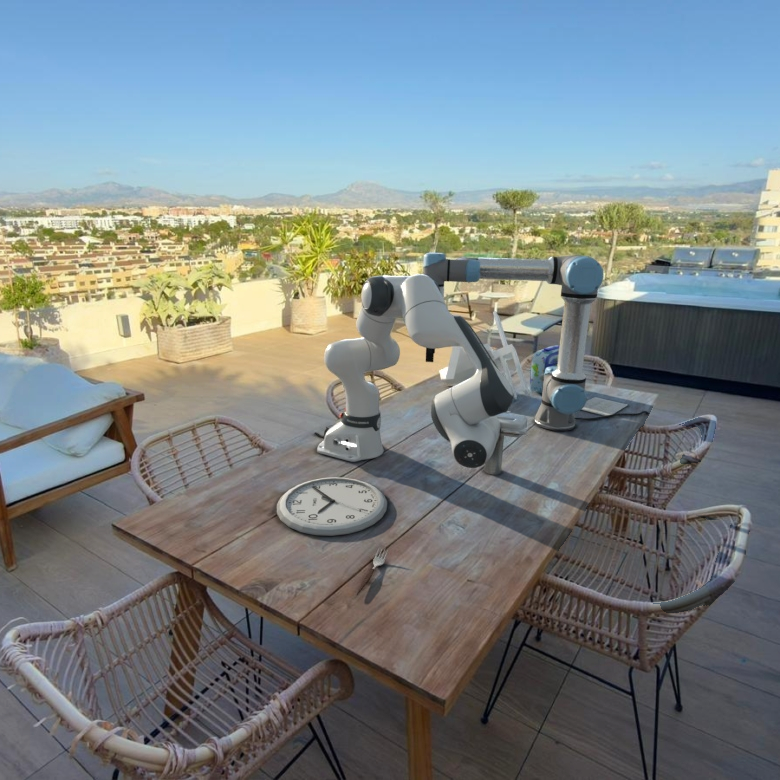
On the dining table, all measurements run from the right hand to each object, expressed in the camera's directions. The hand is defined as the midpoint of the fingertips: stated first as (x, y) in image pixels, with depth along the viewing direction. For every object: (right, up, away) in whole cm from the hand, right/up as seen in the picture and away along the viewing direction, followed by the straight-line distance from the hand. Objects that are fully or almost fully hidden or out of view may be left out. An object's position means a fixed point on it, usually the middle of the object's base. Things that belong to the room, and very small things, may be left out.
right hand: (430, 357), depth 190 cm
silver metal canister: (+18, -37, -25) cm, 48 cm away
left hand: (+12, -17, -52) cm, 56 cm away
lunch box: (+61, -12, +59) cm, 86 cm away
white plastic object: (+27, -13, +54) cm, 61 cm away
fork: (-19, -52, -75) cm, 93 cm away
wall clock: (-30, -43, -47) cm, 71 cm away
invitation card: (+77, -19, +37) cm, 87 cm away
